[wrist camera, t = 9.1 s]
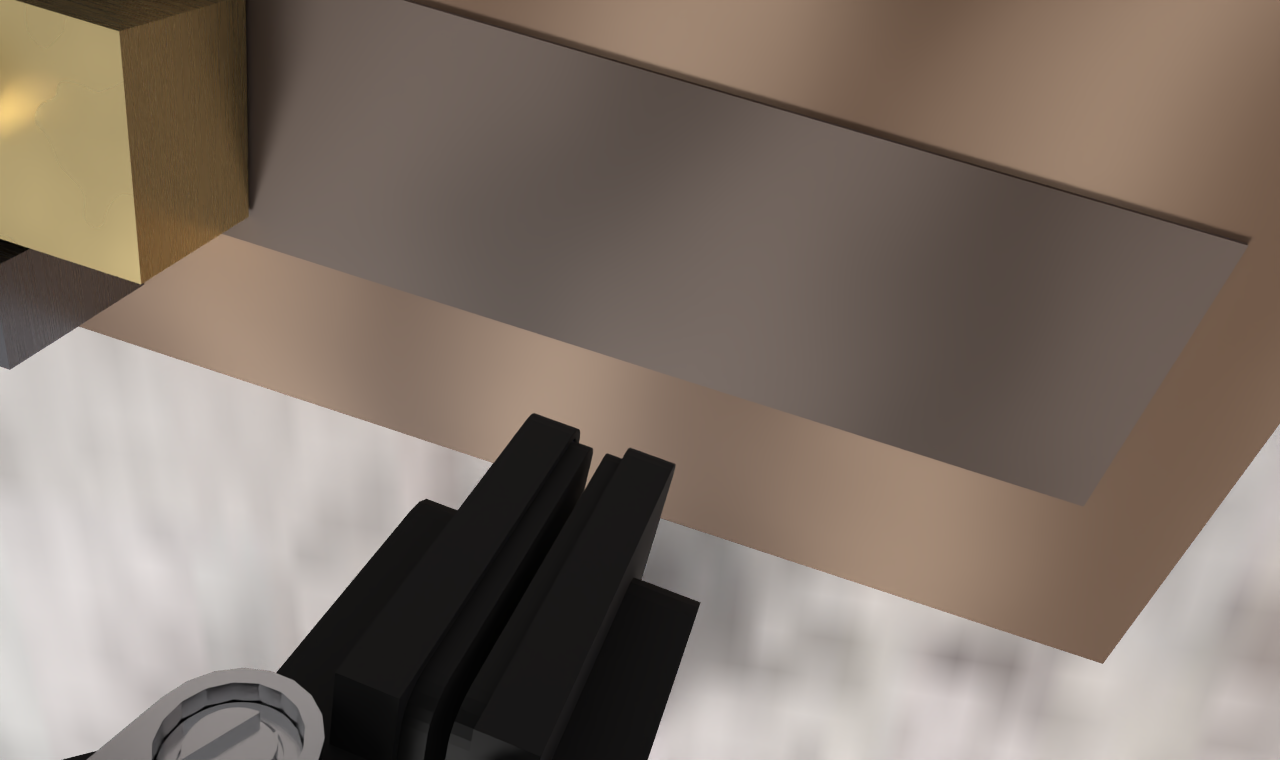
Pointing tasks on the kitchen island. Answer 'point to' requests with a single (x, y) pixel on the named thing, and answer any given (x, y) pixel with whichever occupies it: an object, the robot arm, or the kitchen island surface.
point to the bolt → (122, 129)
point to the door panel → (784, 267)
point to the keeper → (48, 299)
